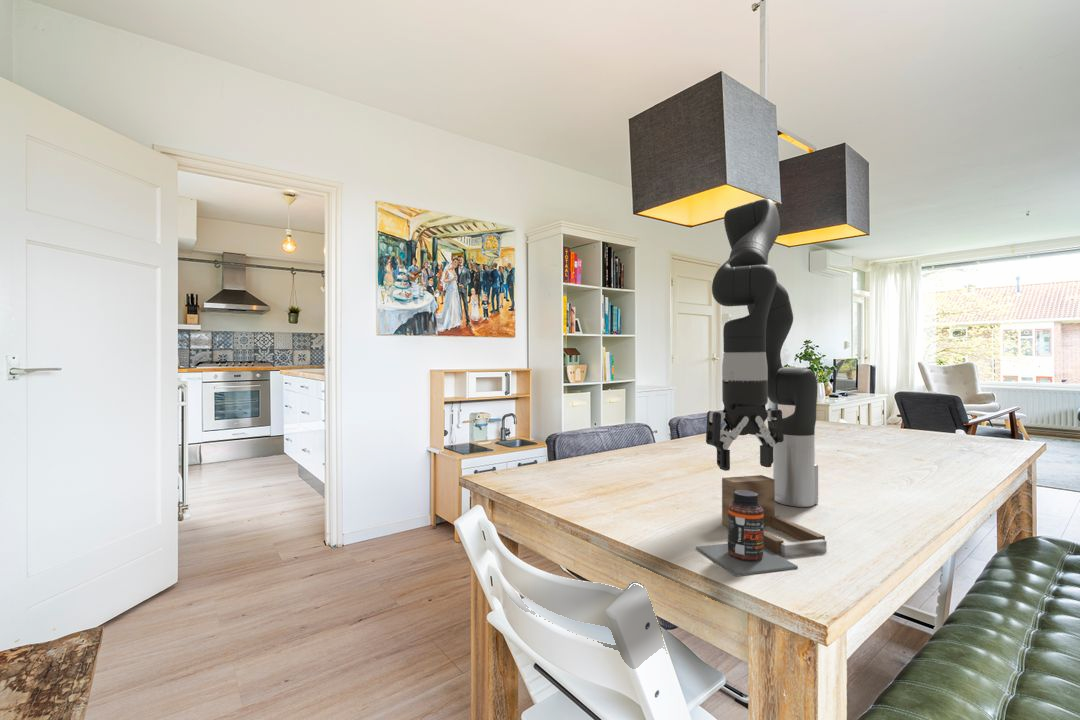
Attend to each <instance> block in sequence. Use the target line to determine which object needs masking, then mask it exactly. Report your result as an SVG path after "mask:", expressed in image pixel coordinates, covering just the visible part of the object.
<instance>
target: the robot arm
mask: <svg viewBox="0 0 1080 720" xmlns="http://www.w3.org/2000/svg"><path fill="white" fill-rule="evenodd" d="M723 224H724V230H725V233H726V236H727V241H728V243H729V245H730V249H731V251H730V253H729V257H728V259H727V260H726V261H725V262H724V263H723V264H722V265H721V266H719V268H718V269H717V271H716V273H715V274H714V276H713V278H712V279H713V280H712V284H711V292H712V297H713V298H714V301H716V302H717V303H718V304H719V305H720V306H722V307H743V306H744V307H745V306H746V308H747V311H748V314H747V315H745V316H743V317H739V318H736V319H735V318H734V319H731V320H728V321H726V322H725V323H724V325H723V330H722V331H723V332H722V333H723V334H722V335H723V336H722V337H723V339H722V340H723V354H722V356H723V357H722V363H721V364H722V366H721V373H722V374H721V379H722V382H721V383H722V384H721V392H722V393H721V394H722V395H721V396H722V404H723V410H722V411H720V412H719V411H714V410H709V411H708V412H707V414H706V429H705V430H706V432H705V434H706V435H705V442H706V443H705V444H707V445H709V446H712V447H715V448H716V464H717V466H718V468H719V469H720V470H722V471H725V472H727V471H730V470H731V451H730V449H729V448H730V446H731V445H732V443H733V442H734V441H735V440H736V439H737V438H738V437H739V436H746V435H750V436H751V435H753V436H754V437H756V439H757V440H758V442H759V443H760V444H759V464H760V466H761V467H764V468H771V467H772V468H773V469H772V472H773V474H772V479H775V502H776V503H778V504H780V505H785V506H791V507H797V508H798V507H800V508H804V507H805V508H807V507H808V508H809V507H813V506H815V505H816V504H817V505H818V504H819V465H818V464H816V463H815V462H816V461H815V459H816V457H815V456H816V452H815V451H816V450H815V449H816V448H815V447H816V445H815V438H816V437H815V429H816V422H817V406H818V405H817V403H818V379H817V376H816V374H815V372H814V371H813V370H811V369H809V368H784V366H783V364H782V363H783V362H782V358H781V357H782V356H781V351H782V348H783V345H784V343H785V341H786V339H787V338H788V335H789V333H790V330H791V328H792V325H793V323H794V314H793V310H792V309H793V308H792V304H791V300H790V296H789V293H788V291H787V289H786V288H785V287H784V286H783V285H782V283H780V282H779V281H778V280H777V274H776V272H775V270H774V269H773V268H772V267H771V266H770V265H768V262H769V254H770V251H771V250H772V248H773V246H774V244H775V242H776V240H777V239H778V236H779V234H780V229H781V219H780V214H779V210H778V207H777V205H776V203H775V202H774V201H773V200H772V199H769V198H762V199H759V200H754V201H752V202H749V203H746V204H742V205H739V206H735V207H733V208H730V209H728V210H726V211H725V213H724V216H723ZM769 401H770V402H771V403H773V404H775V405H780V406H794V411H793V413H792V414H790V415H789V416H787V417H783V411H782V409H779V408H778V409H777V408H770V407H769V408H768V409H767V408H766V406H767V404H768V402H769ZM766 420H767V426H766V424H765V422H766ZM722 423H724V425H723V426H722ZM721 426H722V427H721Z"/></svg>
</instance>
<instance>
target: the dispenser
mask: <svg viewBox="0 0 1080 720" xmlns="http://www.w3.org/2000/svg"><path fill="white" fill-rule="evenodd" d="M737 490H746V491H752V492H755V493H757V494H758V504H759V505H760V506H761V507H762V508H763V511H764V528H771V529H773V530H776V531H778V532H779V533H782V534H784V535H786V536H788V537H790V538H792V539H794V540H796V541H792V542H784V540H783V539H782V538H779V537H778V536H775V535H773V534H772V533H769V532H767V531H765V530H764V532H763V533H764V537H763V538H764V542H763V543H764V548H766V549H767V550H769V551H771V552H773V553H775V554H777V555H780V556H783V557H784V558H785V557H786V558H787V557H793V556H801V555H802V556H803V555H811V554H819V553H821V554H822V553H827V540H826V536H825V535H824V534H821V533H818V532H816V531H815V530H814V531H813V530H812V529H809V528H807V527H804V526H802V525H800V524H798V523H796V522H793V521H791V520H790V519H789V520H788V519H786V518H785V517H782V516H779V515H775V513H776V511H775V502H776V501H775V479H773V477H772V478H771V477H770V476H769V477H768V476H765V475H763V474H759V475H757V474H756V475H747V476H745V475H743V476H730V477H722V478H721V520H722V521H721V524H722V525H723V526H725V527H726V528H728V506H729V504H730V503H731V502H733V501H734V492H735V491H737Z"/></svg>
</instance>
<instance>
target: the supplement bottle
mask: <svg viewBox="0 0 1080 720" xmlns="http://www.w3.org/2000/svg"><path fill="white" fill-rule="evenodd" d="M764 528H765V527H764V511H763V508H762V507H761V506H760V505H759V504H758V494H757V493H755V492H752V491H746V490H737V491H735V492H734V501H733V502H731V503H730V504H729V506H728V527H727V543H728V552H729V554H730V555H732V556H733V557H735V558H738V559H741V560H746V561H756V560H760V559H761V558H762V557H763V552H764V551H763V547H764V543H763V542H764V538H763V537H764V533H763V532H764V531H765V529H764Z"/></svg>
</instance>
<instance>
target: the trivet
mask: <svg viewBox="0 0 1080 720" xmlns="http://www.w3.org/2000/svg"><path fill="white" fill-rule="evenodd" d="M695 548H696V550H698V551H699V552H700V553H701V554H703V555H704V556H707V557H708V558H709V559H710V560H712V561H713V562H715V563H717V565H719V566H721V567H722V568H724V569H725V570H726V571H728V572H729V571H730V573H731V574H732V573H733V574H732V575H734V576H735V575H736V577H738V576H739V575H740V576H745V575H746V574H748V575H754V574H762V573H770V572H779V571H787V570H788V571H789V570H797V569H799V567H798V565H796V564H795V563H793V562H791V561H789V560H787V558H785V557H782V556H781V555H779V554H775V553H773V552H771V551H769V550H767V549H766V548H764V547H763V551H764V552H763V557H762V558H761V559H760V560H756V561H746V560H741V559H738V558H735V557H733V556H732V555H730V554H729V552H728V542H726V543H720V544H719V543H717V544H709V545H699V546H696V547H695ZM746 576H747V575H746Z"/></svg>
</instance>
